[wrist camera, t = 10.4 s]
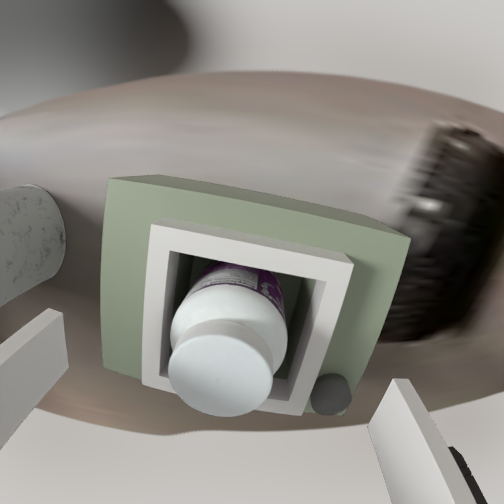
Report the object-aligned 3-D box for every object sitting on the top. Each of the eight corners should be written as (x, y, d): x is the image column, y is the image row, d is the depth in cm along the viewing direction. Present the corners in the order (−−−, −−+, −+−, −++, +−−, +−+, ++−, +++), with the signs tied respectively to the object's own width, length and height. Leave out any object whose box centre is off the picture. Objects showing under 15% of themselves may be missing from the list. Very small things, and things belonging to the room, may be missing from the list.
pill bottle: (284, 322, 21) (294, 427, 11) (206, 328, 21) (170, 428, 12) (277, 243, 19) (287, 312, 10) (192, 252, 20) (134, 322, 10)
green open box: (143, 316, 25) (90, 385, 16) (158, 174, 22) (88, 180, 13) (325, 352, 26) (348, 436, 16) (366, 216, 22) (428, 247, 13)
